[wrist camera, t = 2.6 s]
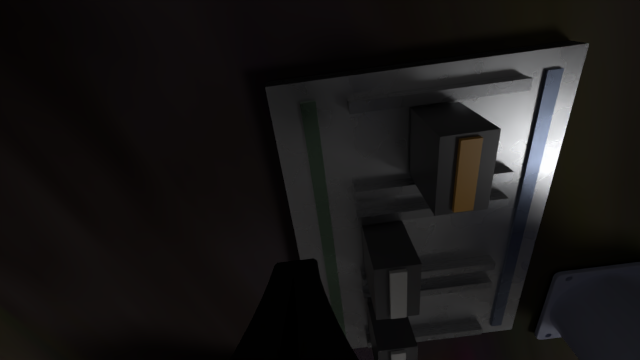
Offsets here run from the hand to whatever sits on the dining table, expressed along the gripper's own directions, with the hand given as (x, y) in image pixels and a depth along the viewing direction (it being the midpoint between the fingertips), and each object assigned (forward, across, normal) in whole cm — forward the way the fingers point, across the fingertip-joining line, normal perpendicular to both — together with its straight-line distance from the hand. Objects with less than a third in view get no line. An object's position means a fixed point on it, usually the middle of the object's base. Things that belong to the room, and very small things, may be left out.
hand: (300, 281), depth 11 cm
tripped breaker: (+8, -7, -1) cm, 11 cm away
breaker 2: (+8, -4, +13) cm, 16 cm away
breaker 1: (+8, -4, +6) cm, 11 cm away
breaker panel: (+10, -7, +6) cm, 13 cm away
